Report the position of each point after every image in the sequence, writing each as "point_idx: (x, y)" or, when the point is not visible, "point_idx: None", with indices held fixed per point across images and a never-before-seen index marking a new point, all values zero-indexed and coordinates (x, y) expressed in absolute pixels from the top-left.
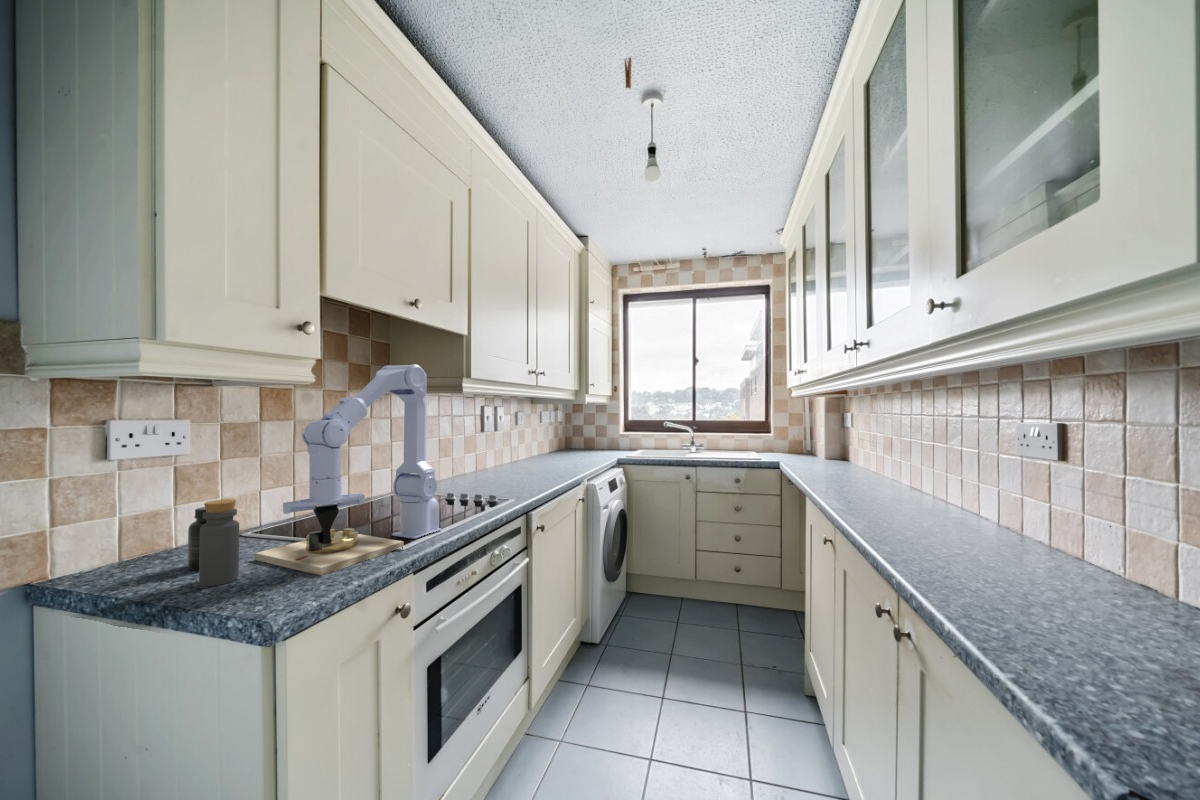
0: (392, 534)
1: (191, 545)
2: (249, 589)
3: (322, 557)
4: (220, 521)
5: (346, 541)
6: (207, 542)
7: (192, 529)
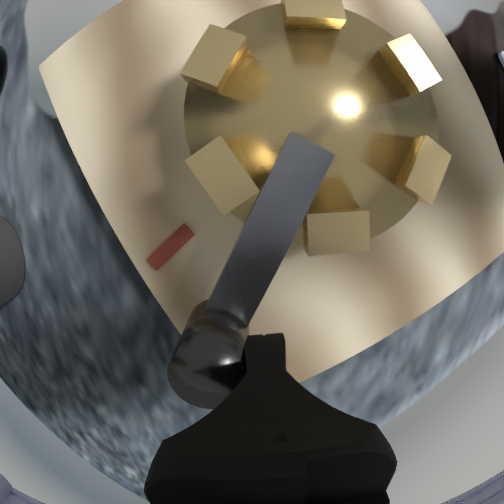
0: (501, 57)
1: None
2: (76, 379)
3: None
4: None
5: (377, 233)
6: None
7: None
